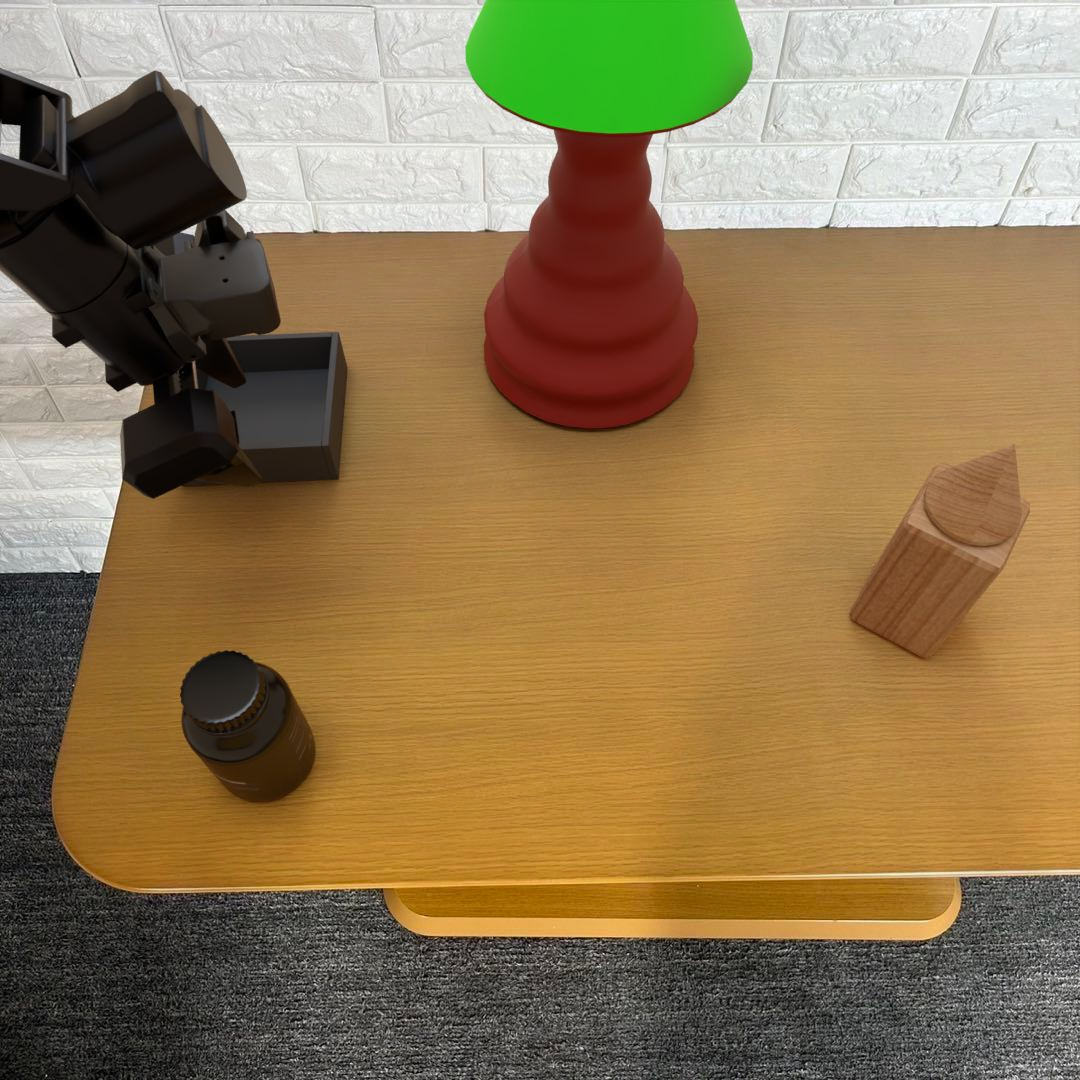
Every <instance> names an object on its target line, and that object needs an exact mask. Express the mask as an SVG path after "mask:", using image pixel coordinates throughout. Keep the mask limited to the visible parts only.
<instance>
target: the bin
mask: <svg viewBox="0 0 1080 1080" xmlns="http://www.w3.org/2000/svg"><path fill="white" fill-rule="evenodd" d="M226 339H227V341H228V343H229V345H230V347H231V349H232V351H233V353H234V355H235V357H236V359H237V361H238V363H239V365H240V367H241V369H242V371H243V373H244V375H245V377H246V383H245V384H244V385H242V386H240V387H238V388H232V387H230V386H228V385H226V384H224V383H221V382H219V381H217V380H216V379H214V378H212V377H210V376H209V375H207V374H205V373H204V372H202V371H200V370H198V369H197V368H196V374H197V382H198V389H207V390H214V391H215V392H216V393H217V394H218V395H219V396H220V397H221V398H222V399H223V400H224V401H225V403H226V405H227V407H228V409H229V411H230V412H231V411H233V410H235V412H236V419H237V426H238V433H239V440H240V443H239V447H240V448H241V449H242V451H243V452H244V453H245V454H246V456H247V457H248V458H249V460H250V461H251V462H252V463H253V465H254V466H255V468H256V469H257V471H258V472H259V474H260V475H261V478H262V481H261V482H260V483H259V484H264V483H265V484H266V483H286V482H287V483H288V482H290V483H291V482H310V481H329V480H339V478H340V467H341V466H340V465H341V457H342V455H341V454H342V443H343V441H342V440H343V430H344V429H343V428H344V419H345V418H344V417H345V416H344V415H345V406H346V405H345V404H346V403H345V402H346V393H347V392H346V391H347V389H346V388H347V378H348V364H347V360H346V359H347V358H346V355H345V351H344V347H343V344H342V340H341V335H340V332H339V331H328V332H327V331H321V332H299V333H298V332H297V333H295V332H294V333H269V334H262V335H258V334H247V335H241V336H235V337H229V338H226ZM221 485H223V486H225V485H227V484H222V483H215V482H208V481H200V480H193V481H191V482H189V483H186V484H184V485H182V486H181V487H202V486H203V487H204V486H221Z"/></svg>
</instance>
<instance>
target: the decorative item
mask: <svg viewBox="0 0 1080 1080" xmlns="http://www.w3.org/2000/svg"><path fill="white" fill-rule="evenodd" d="M1016 449H1017V448H1016V443H1012V444H1010V445H1007V446H1004V447H1002V448H1000V449H997V450H994V451H991V452H989V453H985V454H983V455H981V456H978V457H974V458H973V459H970V460H967V461H965V462H963V463H960V464H956V465H954V466H953V465H952V464H949V463H947V462H940V463H938V464H937V465H936V466H934V467H933V468H932V469H931V471H930V472H929V474H928V476H927V478H926V479H925V480H924V483H923V484H922V486H921V487H920V489H919V490H918V492H917V494H916V496H915V497H914V499H913V501H912V503H911V504H910V506H909V507H908V509H907V510H906V513H905V515H904V516H903V518H902V519H901V521H900V523H899V524H898V526H897V528H896V529H895V531H894V533H893V534H892V536H891V538H890V539H889V542H888V543H887V545H886V546H885V548H884V550H883V552H882V553H881V555H880V556H879V558H878V560H877V562H876V564H875V565H874V567H873V569H872V571H871V572H870V574H869V576H868V577H867V579H866V581H865V583H864V585H863V587H862V588H861V590H860V591H859V593H858V595H857V597H856V599H855V600H854V602H853V604H852V606H851V608H850V611H849V612H850V614H849V615H850V618H851V620H852V621H854V622H855V623H856V624H859V625H860V626H862V627H864V628H866V629H868V630H870V631H872V632H874V633H875V634H877V635H879V636H881V637H883V638H885V639H887V640H888V641H891V642H892V643H894V644H896V645H898V646H900V647H902V648H903V649H905V650H907V651H910V652H911V653H913V654H915V655H917V656H919V657H920V658H925V659H927V658H930V657H931V656H933V655H935V653H936V651H938V649H939V648H940V647H941V645H942V644H943V643H944V642H945V641H946V640H947V638H948V637H949V636H950V634H951V633H952V632H953V631H954V630H955V629H956V627H957V626H958V625H959V623H960V622H961V621H962V620H963V619H964V617H965V616H966V615H967V614H968V613H969V612H970V610H971V609H972V608H973V607H974V605H976V603H977V602H978V601H979V599H980V598H981V597H982V596H983V595H984V594H985V592H986V591H987V590H988V588H989V587H990V586H991V585H992V583H993V582H994V581H995V580H996V579H997V577H998V576H999V575H1000V574H1001V573H1002V571H1003V570H1004V568H1005V567H1006V565H1007V563H1008V560H1009V558H1010V556H1011V554H1012V552H1013V550H1014V547H1015V545H1016V543H1017V541H1018V539H1019V536H1020V534H1021V532H1022V530H1023V528H1024V525H1025V524H1026V522H1027V519H1028V517H1029V516H1030V512H1031V511H1030V510H1031V503H1030V502H1029V501H1028V500H1026V499H1025V498H1023V497H1021V490H1020V482H1019V481H1020V480H1019V471H1018V461H1017V452H1016V451H1017V450H1016Z"/></svg>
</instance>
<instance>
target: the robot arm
mask: <svg viewBox="0 0 1080 1080" xmlns="http://www.w3.org/2000/svg"><path fill="white" fill-rule="evenodd" d="M3 125H7V126H17V127H18V126H19V147H18V158H16V157H13V156H10V155H6V154H4V153H2V152H0V272H1V273H2V274H3V275H4V276H6V277H7V278H8V279H9V280H10V281H12V283H13V284H15V285H16V286H17V287H18V288H19V289H20V290H22V292H23V293H25V294H26V295H27V296H28V297H30V299H32V300H33V301H34V302H35V303H36V304H37V305H39V306H40V307H41V308H42V309H43V310H44V311H45V312H47V314H49V315H50V316H51V323H52V324H51V337H52V338H53V339H54V340H55V341H57V342H58V343H59V344H60V345H61V346H63V348H65V349H67V348H69V347H71V346H74V345H76V344H78V343H79V342H81V343H82V344H83V345H84V346H85V347H87V348H88V349H89V350H90V351H91V352H93V353H94V354H95V355H96V356H97V357H98V358H99V359H100V360H101V361H103V362H104V371H105V372H104V377H105V383H106V384H107V385H108V386H109V387H110V388H112V390H114V391H115V392H117V393H120V392H121V391H123V390H125V389H127V388H130V387H132V386H133V385H135V384H138V385H139V386H141V387H147V386H152V392H153V402H154V403H153V404H152V405H150V406H148V407H146V408H144V409H142V410H139V411H136V412H135V413H133V414H131V415H129V416H126V417H125V418H123V419H122V422H121V427H120V433H119V443H120V460H121V461H120V463H121V480H123V481H124V482H126V483H127V484H128V485H129V486H131V487H132V488H133V489H135V490H136V491H137V492H139V493H140V494H142V495H143V496H145V497H147V498H150V499H152V500H154V499H157V498H159V497H161V496H162V495H165V494H167V493H169V492H171V491H174V490H175V489H178V488H180V487H183V486H182V485H184V484H186V483H189V482H191V481H193V480H200V481H208V482H215V483H222V484H226V485H230V486H234V487H235V486H237V487H243V488H253V486H256V485H258V484H261V483H260V482H261V481H262V478H261V475H260V474H259V472H258V471H257V469H256V468H255V466H254V465H253V463H252V462H251V461H250V460H249V458H248V457H247V456H246V454H245V453H244V452H243V451H242V449H241V448H240V447H239V443H240V440H239V433H238V426H237V419H236V412H235V410H233V411H231V412H230V411H229V409H228V407H227V405H226V403H225V401H224V400H223V399H222V398H221V397H220V396H219V395H218V394H217V393H216V392H215V391H214V390H207V389H198V382H197V374H196V368H197V369H198V370H200V371H202V372H204V373H205V374H207V375H209V376H210V377H212V378H214V379H216V380H217V381H219V382H221V383H224V384H226V385H228V386H230V387H232V388H238V387H240V386H242V385H244V384H245V383H246V377H245V375H244V373H243V371H242V369H241V367H240V365H239V363H238V361H237V359H236V357H235V355H234V353H233V351H232V349H231V347H230V345H229V343H228V341H227V339H226V338H229V337H235V336H245V335H253V334H254V335H268V334H271V333H273V332H275V331H276V330H277V329H278V328H279V327H280V325H281V323H282V319H281V314H280V309H279V305H278V300H277V295H276V289H275V285H274V281H273V278H272V273H271V269H270V266H269V263H268V259H267V256H266V252H265V247H264V245H263V244H262V241H261V240H260V239H259V238H256V235H255V232H254V230H250V231H246V232H245V229H244V227H243V226H242V225H241V224H240V223H239V222H238V221H237V220H236V219H235V218H234V217H233V216H232V215H231V213H229V212H228V211H227V209H229V208H231V207H234V206H236V205H238V204H240V203H242V202H244V201H245V200H246V199H247V196H248V194H247V193H248V192H247V186H246V183H245V180H244V177H243V174H242V172H241V169H240V167H239V164H238V162H237V160H236V158H235V156H234V154H233V152H232V150H231V148H230V146H229V144H228V142H227V141H226V138H225V137H224V136H223V133H222V132H221V131H220V129H219V127H218V126H217V124H216V123H215V121H214V120H213V118H212V117H211V115H210V114H209V112H208V111H207V110H206V108H205V107H204V105H202V104H200V105H198V104H197V103H196V102H195V101H194V100H193V99H192V97H190V96H189V94H187V93H186V92H185V91H183V90H181V89H180V88H176V89H175V88H174V87H173V86H172V85H171V84H170V82H169V81H168V80H167V78H166V77H165V75H164V74H163V72H161V71H159V70H152V71H151V72H149V73H146V74H144V75H143V76H141V77H139V78H137V79H136V80H134V81H133V82H132V83H131V84H129V86H127V88H126V89H125V90H124V91H122V92H120V93H119V94H117V95H115V96H113V97H111V98H110V99H108V100H106V101H104V102H102V103H99V104H98V105H96V106H94V107H92V108H90V109H88V110H87V111H85V112H82V113H81V114H79V115H77V116H74V115H73V98H72V97H71V95H70V94H68V93H67V92H65V91H62V90H59V89H57V88H54V87H52V86H49V85H46V84H44V83H41V82H39V81H36V80H34V79H31V78H28V77H25V76H23V75H21V74H17V73H15V72H13V71H11V70H7V69H5V68H2V67H0V146H1V143H2V126H3ZM194 226H196V227H195V231H194V234H190V233H185V232H184V231H186V230H188V229H190V228H192V227H194Z"/></svg>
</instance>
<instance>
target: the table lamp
mask: <svg viewBox="0 0 1080 1080" xmlns="http://www.w3.org/2000/svg"><path fill="white" fill-rule="evenodd" d="M464 47H465V51H464V52H465V63H466V66H467V69H468V71H469V74H470V76H471V79H472V80H473V82H474V83H475V84H476V85H477V87H478V88H479V90H480V91H481V92H482V93H483V94H484V95H485V97H487V98H488V100H490V101H492V102H493V103H495V104H496V105H497V106H498V107H499V108H501V109H502V110H504V111H505V112H508V113H509V114H511V115H513V116H515V117H517V118H519V119H521V120H523V121H525V122H528V123H531V124H535V125H537V126H540V127H542V128H545V129H549V130H551V131H552V130H553V134H554V137H555V142H556V145H557V151H556V153H555V155H554V157H553V160H552V162H551V164H550V169H549V172H548V179H547V189H548V195H547V196H546V198H545V199H544V200H543V201H542V202H541V203H540V204H539V205H538V206H537V208H536V210H535V211H534V213H533V215H532V217H531V219H530V223H529V227H528V234H526V235H524V237H523V238H522V239H521V240H520V241H519V242H518V243H517V245H515V246H514V248H513V249H512V251H511V253H510V255H509V256H508V258H507V260H506V263H505V267H504V272H503V275H502V276H501V278H500V279H499V280H498V281H497V282H496V283H495V285H494V287H493V289H492V290H491V292H490V294H489V296H488V297H487V300H486V304H485V308H484V312H483V318H484V320H483V321H484V332H485V338H484V342H483V356H484V357H483V361H484V364H485V367H486V370H487V373H488V376H489V378H490V379H491V380H492V382H493V384H494V385H495V387H496V388H497V390H498V391H499V392H500V393H502V394H503V395H504V396H505V397H506V398H507V400H508V401H510V402H511V403H512V404H514V405H515V406H517V407H518V408H519V409H521V410H523V411H524V412H526V413H527V414H530V415H531V416H534V417H536V418H538V419H540V420H543V421H545V422H548V423H551V424H556V425H561V426H563V427H564V426H565V427H572V428H573V427H574V428H582V429H599V428H602V429H603V428H613V427H620V426H626V425H630V424H634V423H636V422H638V421H641V420H643V419H647V418H648V417H651V416H653V415H654V414H655V413H657V412H659V411H661V410H662V409H664V408H665V407H667V406H668V405H669V404H670V403H671V402H673V401H674V400H675V399H676V398H677V397H678V396H679V395H681V393H682V391H683V390H684V388H685V387H686V386H687V384H688V382H689V381H690V379H691V376H692V372H693V370H694V367H695V347H694V346H695V343H696V341H697V337H698V332H699V331H698V330H699V315H698V312H697V311H698V310H697V307H696V304H695V302H694V300H693V298H692V296H691V294H690V292H689V291H688V289H687V287H686V285H684V283H685V282H684V281H685V279H684V278H685V277H684V272H683V268H682V265H681V263H680V261H679V258H678V257H677V255H676V254H675V252H674V250H673V248H671V246H670V245H669V244H668V243H667V242H666V241H665V238H666V237H665V235H666V234H665V228H664V223H663V220H662V218H661V215H660V214H659V212H658V210H657V209H656V207H655V205H653V203H652V201H651V200H650V198H651V193H652V184H653V177H652V172H651V171H652V170H651V167H650V163H649V159H648V156H647V152H648V148H649V146H650V143H651V140H652V138H653V136H654V135H657V134H664V133H669V132H673V131H677V130H679V129H684V128H686V127H690V126H693V125H695V124H697V123H699V122H702V121H704V120H706V119H708V118H710V117H712V116H715V115H716V114H717V113H719V112H720V111H722V110H723V109H724V108H725V107H727V106H729V105H730V104H731V103H732V102H733V101H734V100H735V99H736V97H737V96H738V95H739V94H740V92H741V91H742V90H743V89H744V88H745V87H746V86H747V84H748V82H749V79H750V76H751V74H752V71H753V61H754V60H753V57H754V55H753V50H752V47H751V44H750V41H749V38H748V34H747V31H746V29H745V26H744V23H743V20H742V17H741V14H740V11H739V8H738V6H737V2H736V0H484V3H483V5H482V7H481V10H480V12H479V14H478V16H477V18H476V20H475V22H474V24H473V26H472V28H471V30H470V32H469V36H468V38H467V41H466V44H465V46H464Z"/></svg>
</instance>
